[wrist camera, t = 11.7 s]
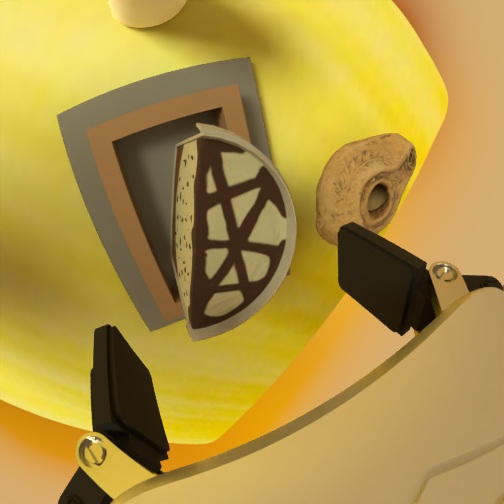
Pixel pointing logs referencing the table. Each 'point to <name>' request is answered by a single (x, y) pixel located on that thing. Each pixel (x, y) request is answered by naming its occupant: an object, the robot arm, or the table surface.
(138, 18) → the can
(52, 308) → the table surface
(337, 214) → the oil lamp
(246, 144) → the food container
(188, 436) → the table surface
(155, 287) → the tray
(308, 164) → the table surface
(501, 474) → the robot arm
